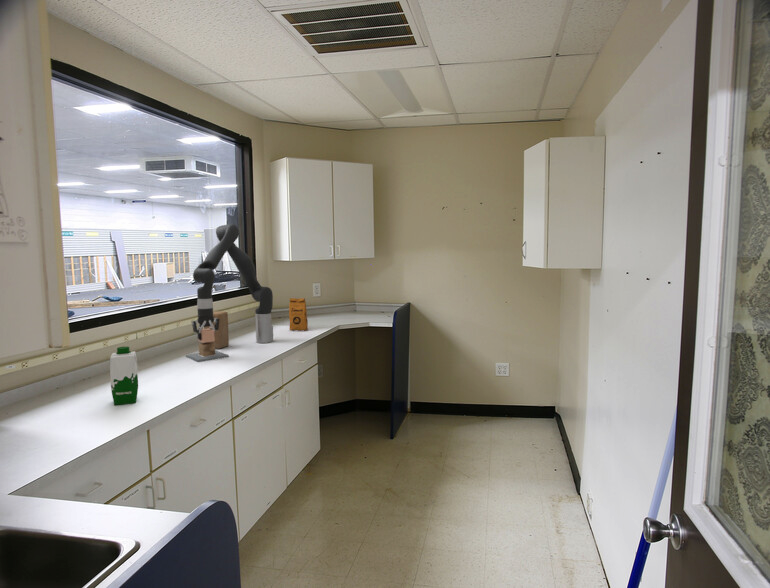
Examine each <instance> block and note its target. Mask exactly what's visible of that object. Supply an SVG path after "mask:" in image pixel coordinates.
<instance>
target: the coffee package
mask: <svg viewBox="0 0 770 588" xmlns="http://www.w3.org/2000/svg"><path fill="white" fill-rule="evenodd" d="M306 304H307V303H306V299H305V297H303V298H293V297H292V298H289V306H288V307H289V309H288V314H289V315H288V317H289V328H288V329H289V331H294V330H298V331H297V332H302V331H301V330H306V331H307V329H309V327H308V326H309V325H308V323H309V321H308V315H307V313H308V311H307V305H306Z"/></svg>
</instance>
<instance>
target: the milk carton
mask: <svg viewBox="0 0 770 588" xmlns="http://www.w3.org/2000/svg"><path fill="white" fill-rule="evenodd" d="M109 359H110V360H109V369H110V370H109V373H110V389H111V396H112V400H113V401H112V402H113V406H121V405H129V404H136V403H137V398H138V389H139V374H138V360H137V354H136V351H132V350H131V351H130V346H120V347H117V348H116V352H113V353H111V355H110V358H109Z"/></svg>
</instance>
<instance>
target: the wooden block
mask: <svg viewBox="0 0 770 588" xmlns="http://www.w3.org/2000/svg"><path fill="white" fill-rule="evenodd" d="M228 315H229V313H228V312H227V311H221V310H220V311H217V310H213V318H218V319H219V329H218V330H216V331H215V341H213V342H212V343H215V350H220V349H223V348H226V347H228V346H229V345H230V344H229V343H230V341H229V340H230V339H229V316H228ZM212 324H213V326H214V328H215V322H214V321H213V323H212ZM209 328H210V327H204V328H203V329H209Z"/></svg>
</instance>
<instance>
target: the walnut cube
mask: <svg viewBox="0 0 770 588" xmlns="http://www.w3.org/2000/svg"><path fill="white" fill-rule="evenodd" d="M215 350H216V349H215V343H212V342H206V343H202V342H199V343H198V353H199V355H201V356H211V355H215Z"/></svg>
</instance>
